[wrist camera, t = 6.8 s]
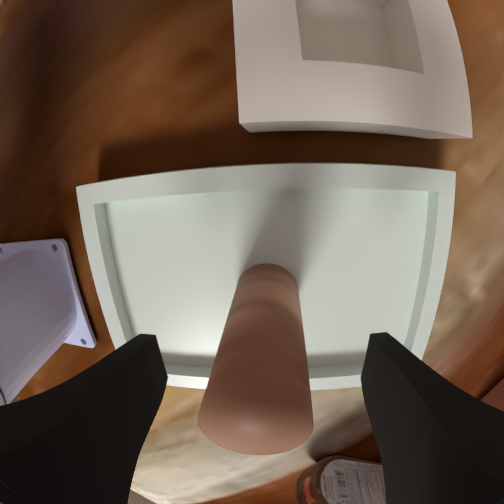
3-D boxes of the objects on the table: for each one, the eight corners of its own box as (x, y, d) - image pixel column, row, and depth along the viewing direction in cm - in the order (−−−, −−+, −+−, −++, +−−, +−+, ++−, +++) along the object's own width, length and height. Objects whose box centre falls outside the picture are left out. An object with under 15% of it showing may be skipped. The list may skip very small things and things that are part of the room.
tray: (138, 360, 18) (127, 379, 16) (97, 181, 14) (76, 186, 12) (405, 358, 16) (415, 378, 14) (435, 168, 12) (455, 171, 10)
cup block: (249, 132, 12) (239, 123, 9) (240, -19, 9) (229, -61, 6) (427, 138, 12) (472, 138, 8) (403, -6, 9) (431, -37, 5)
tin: (292, 457, 21) (291, 535, 13) (314, 443, 20) (319, 528, 12) (393, 474, 22) (404, 529, 14) (413, 462, 21) (428, 518, 13)
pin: (238, 318, 14) (207, 451, 7) (234, 264, 14) (187, 388, 6) (297, 317, 14) (308, 454, 7) (298, 262, 13) (319, 391, 6)
